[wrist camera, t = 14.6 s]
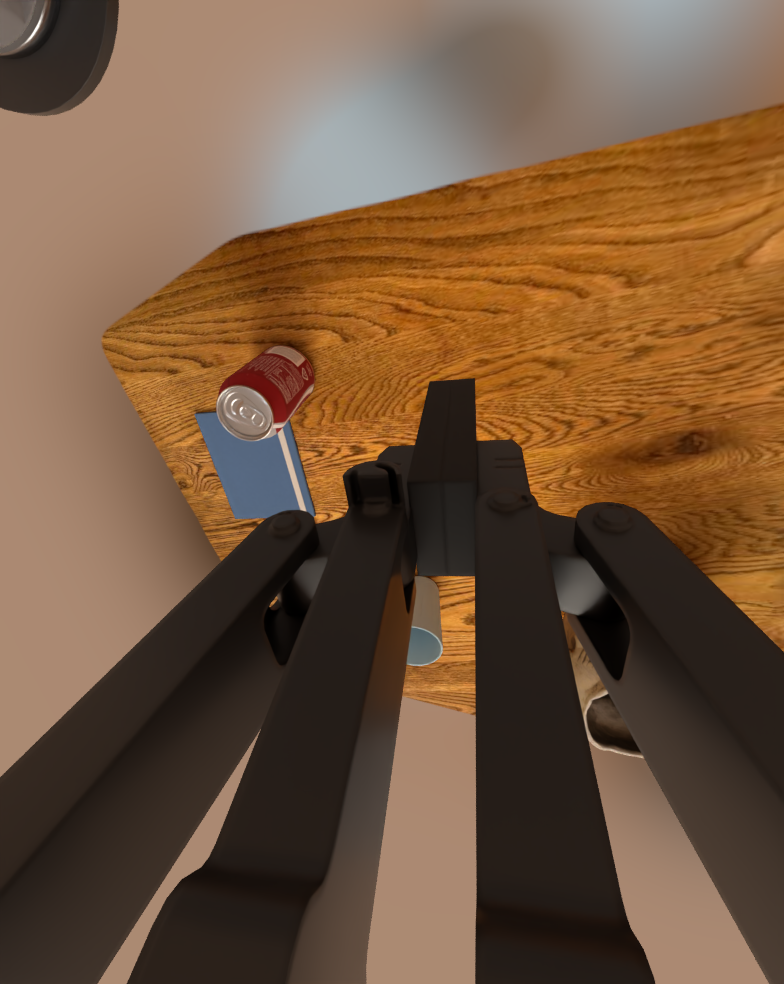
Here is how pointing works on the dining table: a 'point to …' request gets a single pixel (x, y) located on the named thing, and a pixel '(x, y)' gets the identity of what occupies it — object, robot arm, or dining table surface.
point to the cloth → (257, 470)
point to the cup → (425, 624)
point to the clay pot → (598, 703)
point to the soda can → (265, 393)
